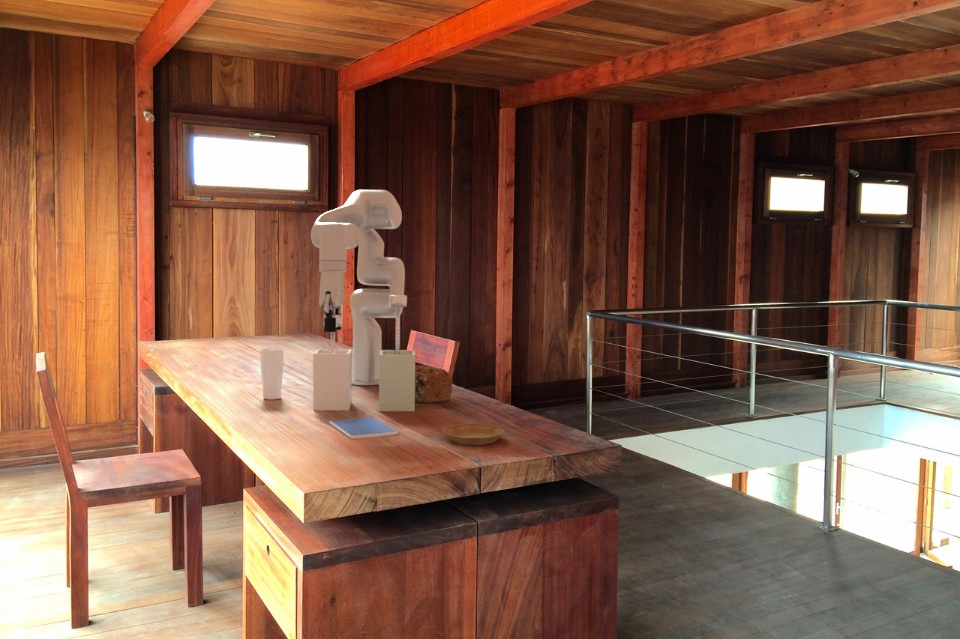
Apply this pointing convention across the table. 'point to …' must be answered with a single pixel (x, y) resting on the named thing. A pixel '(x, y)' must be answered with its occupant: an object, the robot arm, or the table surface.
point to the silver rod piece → (397, 316)
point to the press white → (332, 379)
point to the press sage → (397, 380)
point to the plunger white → (338, 324)
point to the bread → (432, 384)
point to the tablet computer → (362, 428)
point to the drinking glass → (272, 372)
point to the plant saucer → (473, 433)
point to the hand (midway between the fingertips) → (332, 330)
